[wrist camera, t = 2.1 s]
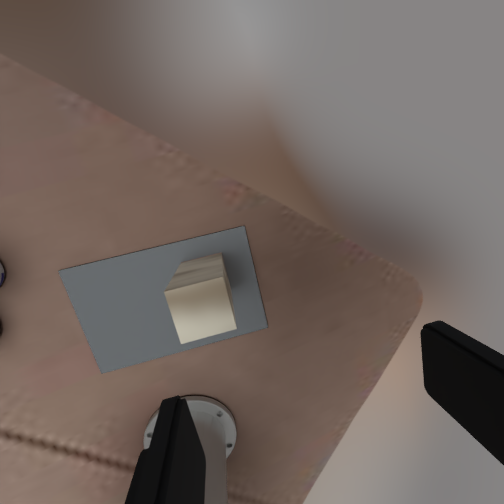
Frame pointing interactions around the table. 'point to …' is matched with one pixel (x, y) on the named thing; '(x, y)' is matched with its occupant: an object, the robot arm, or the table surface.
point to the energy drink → (1, 274)
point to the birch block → (201, 299)
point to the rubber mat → (156, 298)
